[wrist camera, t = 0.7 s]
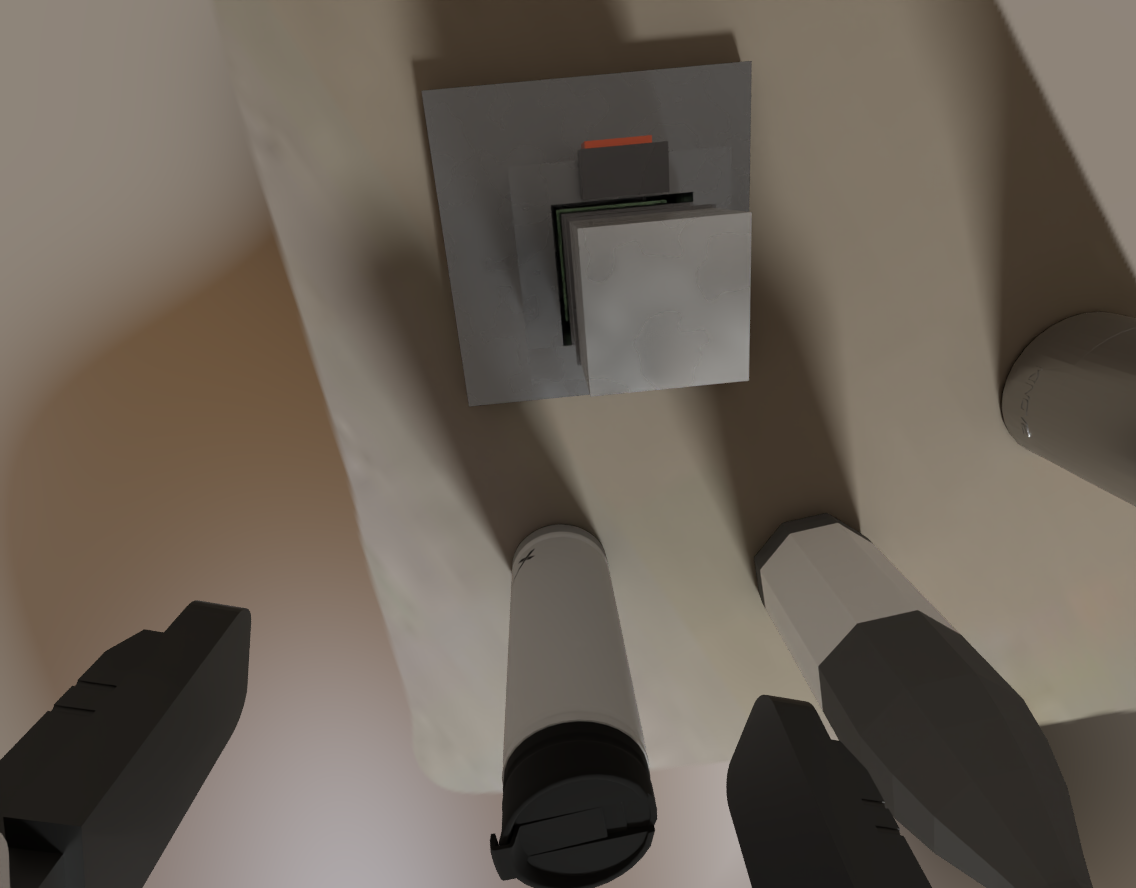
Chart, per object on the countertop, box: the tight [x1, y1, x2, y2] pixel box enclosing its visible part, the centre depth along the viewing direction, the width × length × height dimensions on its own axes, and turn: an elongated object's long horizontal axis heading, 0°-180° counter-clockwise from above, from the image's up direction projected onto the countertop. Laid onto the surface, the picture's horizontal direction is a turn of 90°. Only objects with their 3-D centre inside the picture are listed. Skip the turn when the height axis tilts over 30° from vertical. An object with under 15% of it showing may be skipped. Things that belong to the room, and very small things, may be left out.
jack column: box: [554, 199, 752, 396], centre depth 25 cm, size 5×5×18 cm
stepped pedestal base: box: [422, 61, 752, 406], centre depth 30 cm, size 16×16×13 cm
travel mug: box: [490, 524, 657, 888], centre depth 34 cm, size 6×7×20 cm
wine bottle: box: [754, 513, 1093, 888], centre depth 30 cm, size 8×8×30 cm
